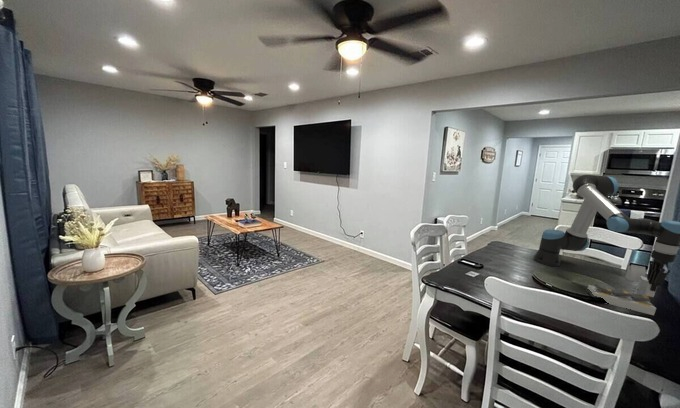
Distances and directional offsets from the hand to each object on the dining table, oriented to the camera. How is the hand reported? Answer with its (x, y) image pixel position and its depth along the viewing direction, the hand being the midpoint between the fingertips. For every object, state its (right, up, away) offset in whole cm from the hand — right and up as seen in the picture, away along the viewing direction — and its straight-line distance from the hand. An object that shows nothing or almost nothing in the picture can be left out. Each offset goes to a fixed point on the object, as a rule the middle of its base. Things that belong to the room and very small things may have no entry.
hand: (649, 295), depth 137 cm
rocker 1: (-15, -1, +9) cm, 18 cm away
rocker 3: (-2, -3, +2) cm, 4 cm away
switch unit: (-9, -6, +6) cm, 13 cm away
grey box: (+31, -3, +36) cm, 48 cm away
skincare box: (+9, -6, +12) cm, 16 cm away
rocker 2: (-9, -2, +5) cm, 11 cm away
